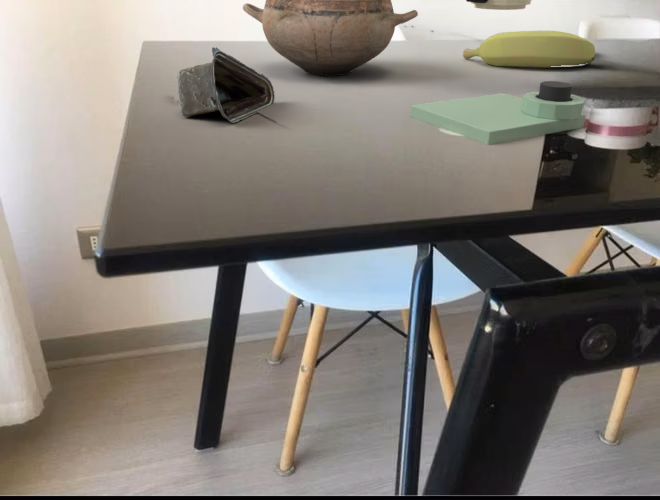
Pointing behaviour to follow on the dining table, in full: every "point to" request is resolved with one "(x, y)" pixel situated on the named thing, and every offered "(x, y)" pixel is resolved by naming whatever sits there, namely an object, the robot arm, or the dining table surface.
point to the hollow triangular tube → (223, 88)
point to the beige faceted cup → (503, 4)
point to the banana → (534, 49)
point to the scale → (502, 116)
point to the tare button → (555, 91)
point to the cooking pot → (328, 31)
